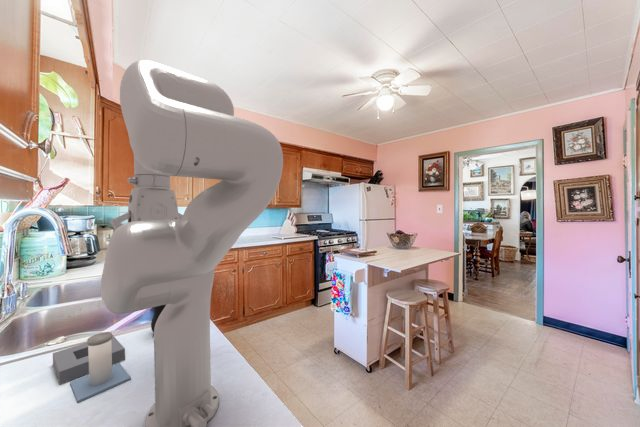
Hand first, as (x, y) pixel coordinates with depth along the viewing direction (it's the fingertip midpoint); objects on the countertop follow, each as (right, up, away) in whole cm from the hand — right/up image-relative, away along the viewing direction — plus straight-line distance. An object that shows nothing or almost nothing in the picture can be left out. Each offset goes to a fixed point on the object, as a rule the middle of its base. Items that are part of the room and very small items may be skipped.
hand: (154, 252), depth 63 cm
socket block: (-18, -29, +2) cm, 34 cm away
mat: (-9, -29, -6) cm, 31 cm away
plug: (-9, -28, -6) cm, 30 cm away
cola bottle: (-8, -29, +18) cm, 35 cm away
